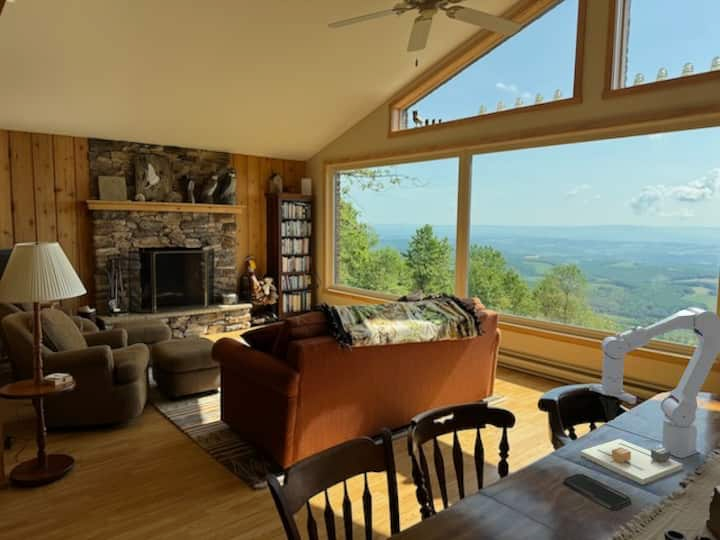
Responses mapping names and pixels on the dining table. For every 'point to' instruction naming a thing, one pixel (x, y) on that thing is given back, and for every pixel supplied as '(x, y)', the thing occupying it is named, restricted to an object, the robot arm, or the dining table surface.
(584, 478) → the phone
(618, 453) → the fader orange
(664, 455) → the block
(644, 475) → the board
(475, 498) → the dining table surface
